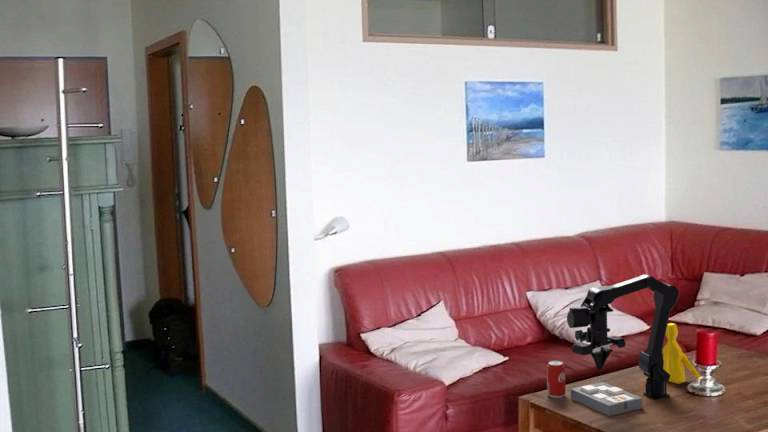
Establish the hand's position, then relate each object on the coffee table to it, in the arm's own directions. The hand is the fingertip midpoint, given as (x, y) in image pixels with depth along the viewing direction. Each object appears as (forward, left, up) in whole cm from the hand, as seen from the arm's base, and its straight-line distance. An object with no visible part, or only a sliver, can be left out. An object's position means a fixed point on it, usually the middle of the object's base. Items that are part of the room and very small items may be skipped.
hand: (599, 369), depth 283 cm
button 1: (+2, -3, -9) cm, 10 cm away
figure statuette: (-36, -3, -12) cm, 38 cm away
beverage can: (+9, -13, -12) cm, 20 cm away
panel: (-1, +2, -11) cm, 12 cm away
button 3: (-4, -3, -10) cm, 12 cm away
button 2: (+2, +3, -10) cm, 11 cm away
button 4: (-4, +3, -9) cm, 10 cm away
